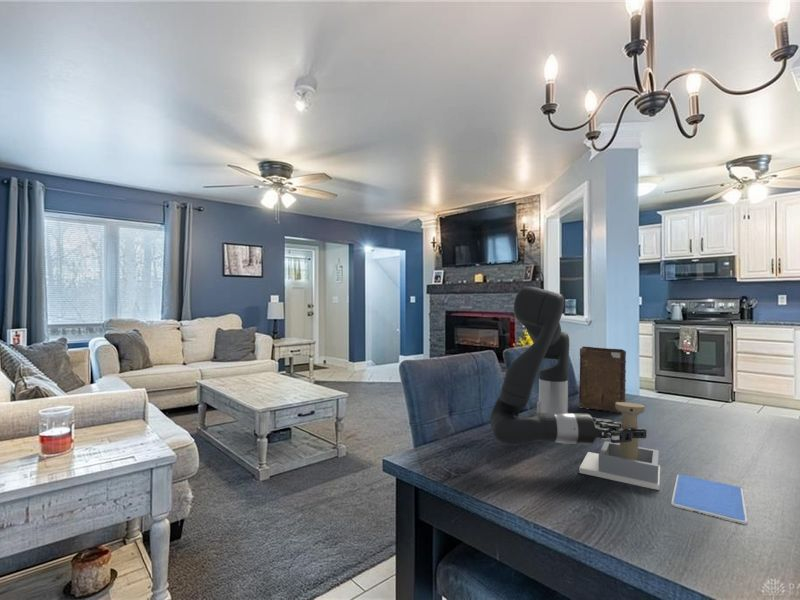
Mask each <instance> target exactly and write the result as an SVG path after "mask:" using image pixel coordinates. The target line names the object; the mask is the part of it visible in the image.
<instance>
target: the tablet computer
mask: <svg viewBox="0 0 800 600" xmlns="http://www.w3.org/2000/svg"><path fill="white" fill-rule="evenodd" d="M674 483H675V484H674V488H673V493H672V495H671V503H670V504H671V506H672V507H674V508H677V509H682V510H684V511H685V510H686V511H689V512H693V511H695V512H694V513H697V512H698V514H701V513H703V514H702V515H704V514H706V515H705V516H708V515H711V516H710V517H712V516H715V517H714V518H716V517H719V518H718V519H720V518H723V519H722V520H724V519H727V520H731V521H735V522H738V523H737V524H739V523H742V524H741V525H743V524H747V525H749V522H748V521H749V520H748V515H747V508H746V502H745V495H744V490H743V488H741V487H740V486H736V485H733V484H728V483H723V482H719V481H714V480H709V479H703V478H700V477H695V476H691V475H690V476H689V475H685V474H677V475H676V479H675V482H674ZM727 520H726V521H727ZM731 521H730V522H731ZM735 522H734V523H735Z"/></svg>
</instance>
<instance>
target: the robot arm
mask: <svg viewBox="0 0 800 600" xmlns="http://www.w3.org/2000/svg"><path fill="white" fill-rule="evenodd" d="M564 307H565V298H564V296H563V294H561V293H559V292H555V291H553V290H552V291H551V290H548V289H544V288H539V287H536V286H525V287H523V288H521V289H520V290H519V291H518V293H517V294H516V296H515V298H514V301H513V312H514V315H515V316H514V317H515V318H516V320H517V321H519V322H520V323H521V325H522V326H523V327H524V328H525V330H526V332H527V334H528V335H529V337H530V339H531V341H532V345H531V346H530V347H528V348H527V349H526V350H525V351H524V352H523V353H521V354H520V355H519V356H518V357H517V358H515V359H514V360H513V361H512V362H511V364H510V365H509V367H508V368H507V371H506V373H505V377H504V380H503V383H502V387H501V389H500V393H499V396H498V398H497V399H496V402H495V404H494V406H493V408H492V411H491V414H490V418H489V422H490V423H489V424H490V427H491V429H492V432H493V435H494V437H495V439H496V440H497V441H498V442H500V443H501V444H504V445H508V446H520V445H525V444H526V445H527V444H530V443H531V444H532V443H536V442H541V443H543V442H544V443H559V444H565V445H593V444H594V443H595V440H596V438H599V439H600V440H605V441H608V440H610V442H612V443H619V444H620V443H621V442H630V441H632V438H638V439H646V438H647V430H646V429H645V428H641V427H640V428H639V427H638V425H637V428H624V427H621V425H622V422H620V421H616V420H614V419H608V418H607V419H606V418H600V417H599V418H598V417H593V416H592V415H591V414H590V413H581V412H580V413H579V412H569V358H570V357H569V355H570V336H569V333H567V332H565V331H562V327H561V326H562V325H561V323H560V321H561V318H562V315H563V312H564ZM544 359H547V360H548V359H549V360H558V361H557V363H556V364H554V365H551V366H548V367H544V368H541V365H542V362H543V360H544ZM540 368H541V369H540ZM537 374H538V400H537V401H536V412H533V413H531V414H530V415H529V416H528V417H521V418H520V417H519V415H520V412H521V410H522V408H524V407H526V406H527V405H528V403H529V400H530V397H531V394H532V391H533V386H534V385H535V384H534V383H535V380H536V377H537Z"/></svg>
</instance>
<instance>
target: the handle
mask: <svg viewBox="0 0 800 600" xmlns="http://www.w3.org/2000/svg"><path fill="white" fill-rule="evenodd" d="M615 407H616V409H617V410H619V411H620V412H621V413H620V414H621V424H622V425H621V427H624V428H637V426H638V416H639V414H642V413H644V412H645V410H646V409H645V408H646V407H645V405H643V404H640V403H635V402H626V401H625V402H616V403H615ZM619 444H620V451H621V456H622V457H621V458H626V459H631V460H636V459H637V455H638V447H639V438H632V441H630V442H621V443H619Z"/></svg>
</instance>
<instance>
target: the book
mask: <svg viewBox="0 0 800 600" xmlns="http://www.w3.org/2000/svg"><path fill="white" fill-rule="evenodd" d="M626 355H627V350H624V349H622V348H607V347H605V348H604V347H592V346H581V348H579V395H578V396H579V397H578V399H579V400H578V408H579V407H582V408H589V409H596V410H595V411H598V410H604V411H603V412H607V411H611V412H610V413H612V412H618V413H617V414H622V413H621V412H620V411H619V410H617V409H616V407H615V403H616V402H626V391H627V390H626V381H627V380H626V372H627V370H626V368H627V367H626V363H627V361H626V359H627V358H626V357H627V356H626ZM589 409H588V410H589Z"/></svg>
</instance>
